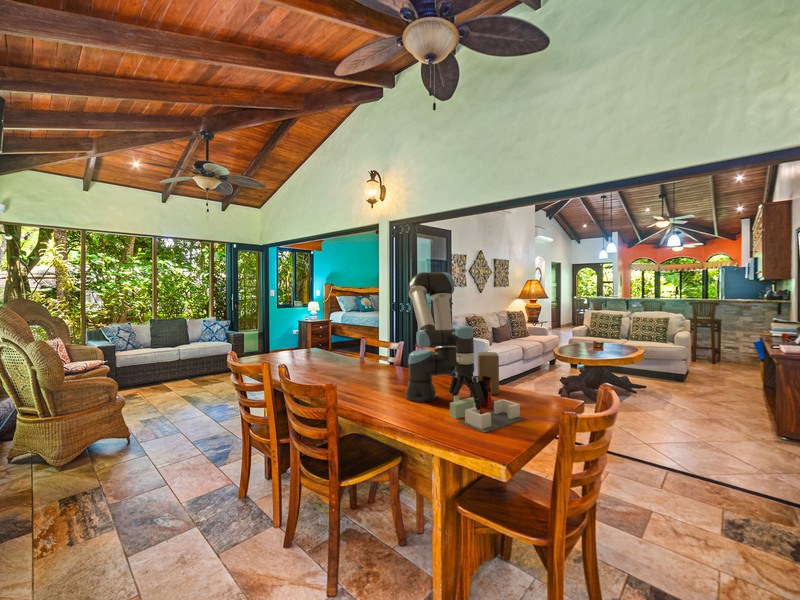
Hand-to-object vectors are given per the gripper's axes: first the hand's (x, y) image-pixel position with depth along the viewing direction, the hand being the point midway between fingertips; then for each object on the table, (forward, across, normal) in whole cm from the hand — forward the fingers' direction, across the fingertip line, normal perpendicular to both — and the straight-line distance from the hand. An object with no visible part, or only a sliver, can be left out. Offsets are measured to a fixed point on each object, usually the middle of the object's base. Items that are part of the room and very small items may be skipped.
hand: (466, 413), depth 152 cm
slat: (+1, -1, 0) cm, 1 cm away
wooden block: (0, -18, +33) cm, 38 cm away
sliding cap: (0, +11, +13) cm, 17 cm away
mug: (0, -5, +16) cm, 17 cm away
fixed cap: (0, +11, -5) cm, 12 cm away
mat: (+1, +11, +4) cm, 12 cm away
